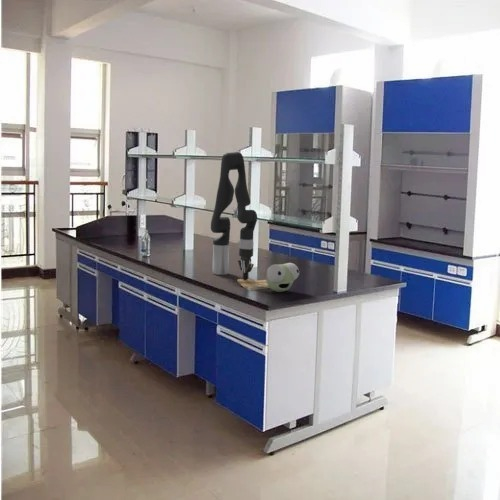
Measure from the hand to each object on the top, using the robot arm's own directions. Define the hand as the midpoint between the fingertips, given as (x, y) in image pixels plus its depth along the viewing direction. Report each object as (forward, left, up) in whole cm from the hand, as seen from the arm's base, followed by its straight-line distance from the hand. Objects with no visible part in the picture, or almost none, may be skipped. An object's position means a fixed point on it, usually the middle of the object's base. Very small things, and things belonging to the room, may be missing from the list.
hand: (245, 279), depth 319 cm
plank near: (+3, 0, -2) cm, 3 cm away
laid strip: (+10, +5, -3) cm, 11 cm away
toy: (+21, +8, -3) cm, 23 cm away
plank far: (+3, +10, -3) cm, 10 cm away
